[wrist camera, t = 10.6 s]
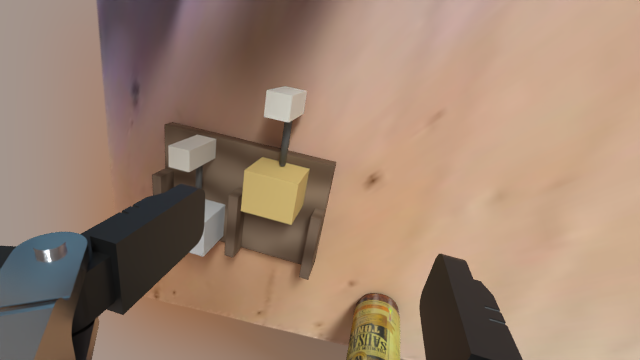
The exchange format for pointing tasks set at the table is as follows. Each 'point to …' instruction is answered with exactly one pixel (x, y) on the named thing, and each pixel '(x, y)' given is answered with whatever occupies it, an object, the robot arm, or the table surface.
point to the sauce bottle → (375, 329)
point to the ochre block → (277, 165)
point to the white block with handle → (200, 184)
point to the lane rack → (227, 188)
